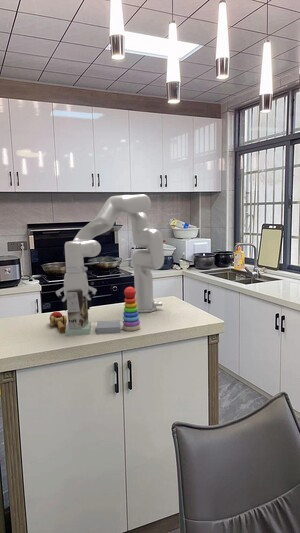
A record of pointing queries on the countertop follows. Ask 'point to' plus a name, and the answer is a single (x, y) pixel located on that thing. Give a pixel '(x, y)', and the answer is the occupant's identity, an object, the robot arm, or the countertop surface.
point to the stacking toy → (130, 311)
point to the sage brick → (79, 330)
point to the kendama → (58, 321)
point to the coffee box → (77, 310)
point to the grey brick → (108, 327)
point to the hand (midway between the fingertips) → (77, 309)
